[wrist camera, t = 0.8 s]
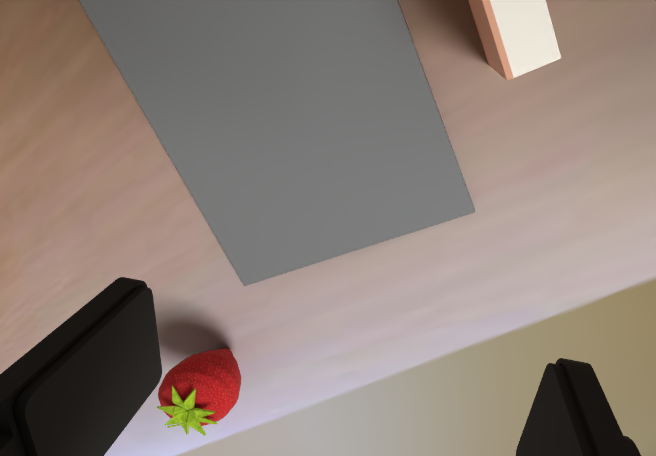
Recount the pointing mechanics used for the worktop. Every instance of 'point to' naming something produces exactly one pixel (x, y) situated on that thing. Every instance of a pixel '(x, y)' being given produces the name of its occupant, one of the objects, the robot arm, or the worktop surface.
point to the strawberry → (200, 389)
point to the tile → (515, 35)
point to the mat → (289, 121)
